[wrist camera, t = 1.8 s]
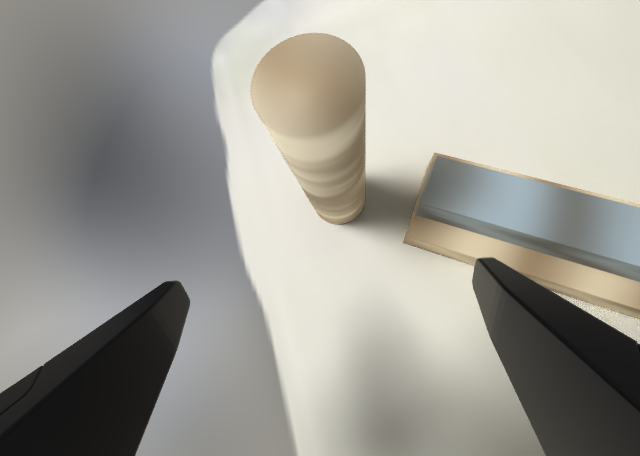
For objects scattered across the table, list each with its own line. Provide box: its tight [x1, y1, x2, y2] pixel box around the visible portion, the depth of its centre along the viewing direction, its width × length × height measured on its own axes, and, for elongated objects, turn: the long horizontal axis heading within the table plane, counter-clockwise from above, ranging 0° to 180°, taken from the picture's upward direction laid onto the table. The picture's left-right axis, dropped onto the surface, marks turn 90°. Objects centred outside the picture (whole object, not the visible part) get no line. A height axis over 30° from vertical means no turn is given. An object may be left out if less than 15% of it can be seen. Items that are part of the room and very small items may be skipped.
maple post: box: [250, 33, 365, 224], centre depth 16 cm, size 4×4×13 cm
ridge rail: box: [403, 153, 640, 319], centre depth 18 cm, size 16×6×5 cm, turn 70°
